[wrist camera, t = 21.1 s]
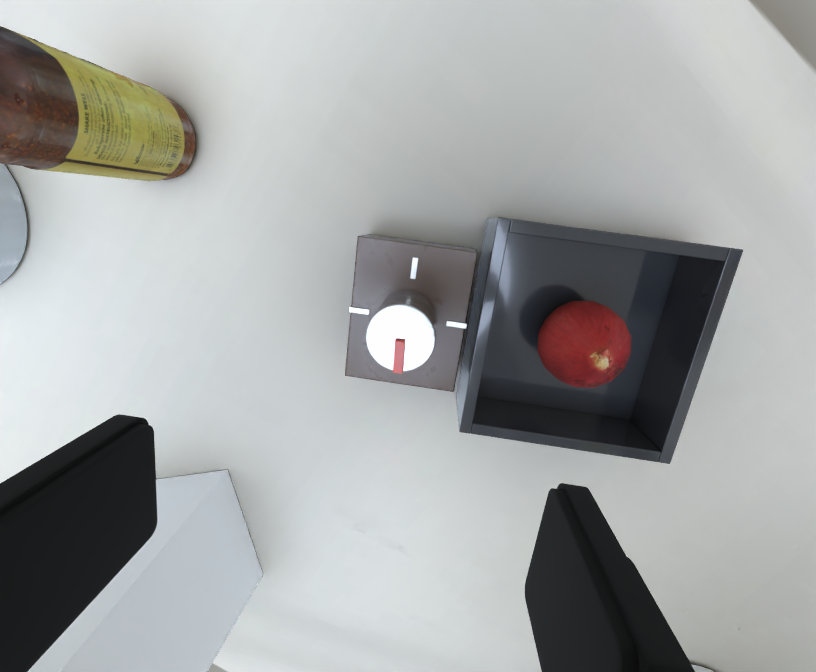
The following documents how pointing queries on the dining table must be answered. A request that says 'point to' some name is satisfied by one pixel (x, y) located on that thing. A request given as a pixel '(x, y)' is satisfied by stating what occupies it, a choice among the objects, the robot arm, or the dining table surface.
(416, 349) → the metal rotary knob
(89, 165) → the sauce bottle
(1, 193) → the utensil holder
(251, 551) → the milk
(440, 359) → the block
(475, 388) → the dark grey open box
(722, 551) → the dining table surface
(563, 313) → the red round fruit
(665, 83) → the dining table surface
